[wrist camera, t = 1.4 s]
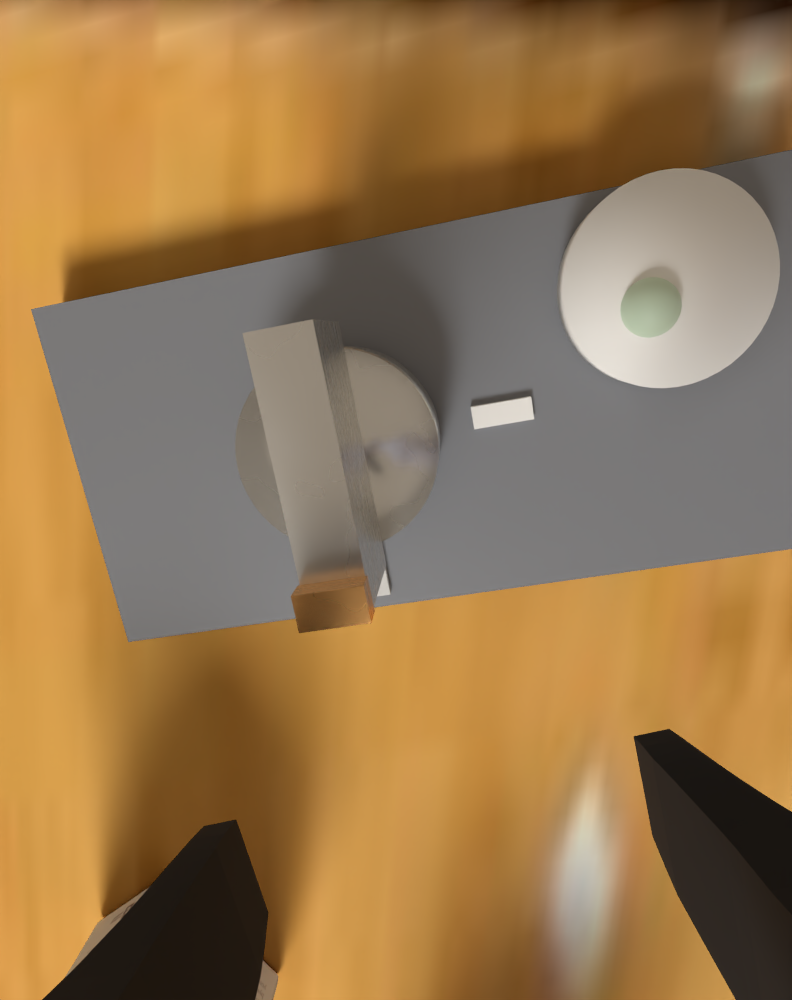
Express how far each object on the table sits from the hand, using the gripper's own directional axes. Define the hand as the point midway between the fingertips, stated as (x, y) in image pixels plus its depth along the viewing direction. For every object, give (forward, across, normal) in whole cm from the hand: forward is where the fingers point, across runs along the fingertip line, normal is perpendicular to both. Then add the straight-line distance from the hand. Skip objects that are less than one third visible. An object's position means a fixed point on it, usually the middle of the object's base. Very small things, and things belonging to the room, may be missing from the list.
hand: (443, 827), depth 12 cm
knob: (+8, +1, -6) cm, 10 cm away
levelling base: (+10, -1, -6) cm, 11 cm away
